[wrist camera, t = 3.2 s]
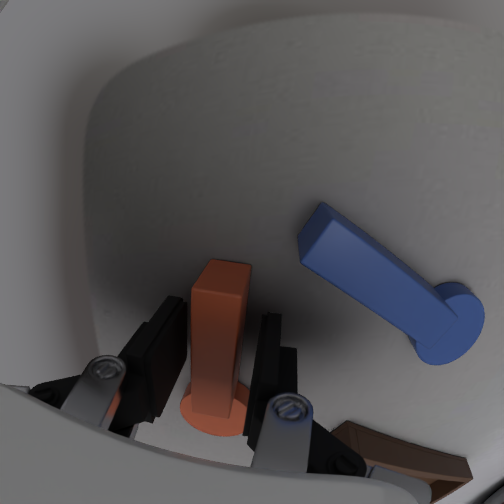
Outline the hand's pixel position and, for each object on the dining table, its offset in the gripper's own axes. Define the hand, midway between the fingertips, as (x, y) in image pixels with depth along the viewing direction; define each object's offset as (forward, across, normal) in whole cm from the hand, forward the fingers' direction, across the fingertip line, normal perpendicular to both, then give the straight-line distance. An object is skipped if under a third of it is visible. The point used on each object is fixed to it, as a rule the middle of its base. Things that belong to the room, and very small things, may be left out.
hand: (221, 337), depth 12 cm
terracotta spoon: (+1, 0, +2) cm, 2 cm away
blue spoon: (+1, -7, -3) cm, 7 cm away
